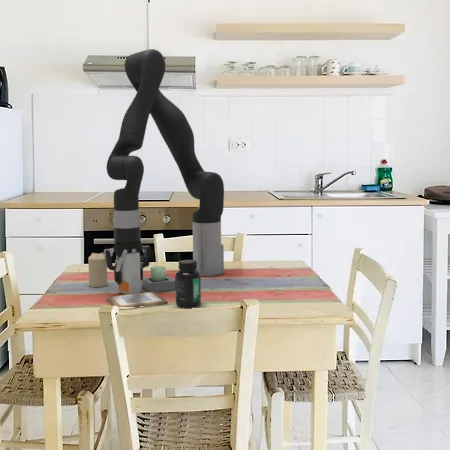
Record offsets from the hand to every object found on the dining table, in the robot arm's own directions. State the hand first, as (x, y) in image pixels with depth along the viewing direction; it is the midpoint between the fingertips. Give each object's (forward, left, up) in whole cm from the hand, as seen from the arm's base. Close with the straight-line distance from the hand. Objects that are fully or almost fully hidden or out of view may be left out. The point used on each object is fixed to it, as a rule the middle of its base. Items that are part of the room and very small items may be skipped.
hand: (128, 282), depth 195 cm
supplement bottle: (-11, +20, -3) cm, 23 cm away
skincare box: (0, 0, -3) cm, 3 cm away
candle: (+6, -13, -3) cm, 15 cm away
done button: (-9, 0, -1) cm, 9 cm away
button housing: (-9, 0, -3) cm, 10 cm away
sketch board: (+1, +11, -3) cm, 11 cm away
